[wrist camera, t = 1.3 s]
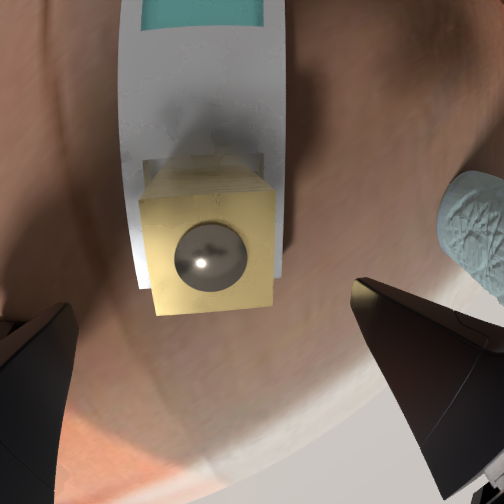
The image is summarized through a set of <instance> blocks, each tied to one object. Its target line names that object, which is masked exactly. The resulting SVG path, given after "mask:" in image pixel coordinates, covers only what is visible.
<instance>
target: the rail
mask: <svg viewBox="0 0 504 504" xmlns="http://www.w3.org/2000/svg"><path fill="white" fill-rule="evenodd" d="M118 119H119V139H120V154H121V166H122V177H123V187H124V195H125V204H126V212H127V219H128V226H129V233H130V239H131V245H132V251H133V257H134V263H135V268H136V274H137V279H138V284H139V289H147V288H151V284H150V278H149V272H148V266H147V260H146V254H145V247H144V241H143V234H142V226H141V218H140V210H139V201H138V200H139V198H140V197H141V195H142V194H143V193H144V191H145V190H146V188H147V187H148V186H149V184H150V183H151V182H152V180H153V179H154V178H155V176H156V175H157V174H158V172H159V171H160V170H165V169H177V168H190V167H205V166H224V165H247V166H248V167H249V168H251V169H252V170H253V171H254V172H255V173H256V174H257V175H259V176H260V177H261V178H262V179H263V180H264V181H265V182H266V183H267V184H269V185H270V186H271V187H272V188H273V189H274V190H275V191H276V211H275V249H274V278H281V271H282V248H283V221H284V188H285V137H286V43H285V0H122V4H121V15H120V29H119V47H118Z"/></svg>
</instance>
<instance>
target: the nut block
mask: <svg viewBox="0 0 504 504" xmlns="http://www.w3.org/2000/svg"><path fill="white" fill-rule="evenodd" d="M138 201H139V210H140V218H141V226H142V234H143V241H144V247H145V254H146V260H147V266H148V272H149V278H150V284H151V289H152V294H153V300H154V305H155V310H156V314H157V316H159V315H175V314H189V313H202V312H214V311H226V310H236V309H247V308H256V307H266V306H273V280H274V249H275V211H276V191H275V190H274V189H273V188H272V187H271V186H270V185H269V184H267V183H266V182H265V181H264V180H263V179H262V178H261V177H260V176H259V175H257V174H256V173H255V172H254V171H253V170H252V169H251V168H249V167H248V166H247V165H224V166H205V167H190V168H177V169H165V170H160V171H159V172H158V174H157V175H156V176H155V178H154V179H153V180H152V182H151V183H150V184H149V186H148V187H147V188H146V190H145V191H144V193H143V194H142V195H141V197H140V198H139V200H138Z"/></svg>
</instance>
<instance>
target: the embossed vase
mask: <svg viewBox="0 0 504 504" xmlns="http://www.w3.org/2000/svg"><path fill="white" fill-rule="evenodd" d="M437 237H438V241H439V244H440V246H441V248H442V249H443V250H444V252H445V253H446V254H447V255H448V256H449V257H451V258H452V259H453V260H454V261H455V262H456V263H457V264H459V265H460V266H461V267H462V268H463V269H464V270H465V271H467V272H468V273H469V274H470V275H471V276H472V278H474V279H475V280H476V281H477V282H478V283H480V284H481V286H482V287H483V288H484V289H485V290H487V291H488V292H489V293H490V294H492V295H493V296H495V297H497V299H498V301H499V303H500V304H502V305H503V306H504V179H501V178H499V177H496V176H494V175H490V174H487V173H483V172H479V171H475V170H472V171H466V172H463V173H461V174H460V175H458V176H457V177H456V178H455V179H454V180H453V181H452V182H451V183H450V185H449V186H448V188H447V190H446V191H445V194H444V196H443V198H442V201H441V203H440V207H439V210H438V216H437Z"/></svg>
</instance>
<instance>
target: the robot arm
mask: <svg viewBox="0 0 504 504" xmlns="http://www.w3.org/2000/svg"><path fill="white" fill-rule="evenodd" d="M350 305H351V308H352V311H353V313H354V315H355V318H356V320H357V322H358V325H359V327H360V330H361V332H362V334H363V337H364V339H365V341H366V343H367V345H368V347H369V349H370V351H371V353H372V355H373V357H374V359H375V360H376V362H377V364H378V366H379V368H380V370H381V372H382V373H383V375H384V377H385V379H386V381H387V383H388V385H389V387H390V389H391V391H392V392H393V394H394V396H395V398H396V400H397V402H398V404H399V406H400V408H401V410H402V412H403V414H404V416H405V418H406V420H407V422H408V424H409V426H410V428H411V430H412V432H413V435H414V437H415V439H416V441H417V443H418V445H419V447H420V449H421V452H422V454H423V456H424V458H425V460H426V462H427V465H428V467H429V469H430V471H431V473H432V476H433V478H434V480H435V482H436V485H437V487H438V489H439V492H440V494H441V496H442V498H443V500H446V499H447V498H449V497H451V496H452V495H454V494H455V493H457V492H458V491H460V490H462V489H463V488H464V487H466V486H467V485H469V484H470V483H472V482H473V481H474V480H476V479H477V478H478V477H480V476H481V475H482V474H485V475H486V477H487V479H488V480H489V482H488V483H487V484H485V485H484V486H483V487H482V488H480V489H479V490H478V491H477V492H475V493H474V494H473V497H472V501H471V504H504V327H501V326H498V325H495V324H491V323H488V322H485V321H482V320H479V319H477V318H474V317H471V316H468V315H466V314H463V313H460V312H458V311H453V310H452V309H450V308H447V307H445V306H442V305H439V304H437V303H434V302H432V301H429V300H426V299H424V298H421V297H418V296H416V295H413V294H411V293H408V292H405V291H403V290H400V289H397V288H395V287H392V286H389V285H387V284H384V283H381V282H378V281H376V280H373V279H370V278H368V277H363V278H357V279H355V281H354V283H353V288H352V294H351V299H350ZM77 337H78V323H77V321H76V318H75V315H74V312H73V309H72V306H71V305H70V304H69V303H67V302H65V303H57V304H55V305H54V306H52V307H51V308H49V309H47V310H46V311H44V312H43V313H41V314H40V315H38V316H37V317H35V318H34V319H32V320H31V321H29V322H1V321H0V504H54V489H55V475H56V465H57V456H58V448H59V441H60V434H61V427H62V421H63V416H64V410H65V405H66V400H67V395H68V390H69V385H70V381H71V376H72V372H73V365H74V358H75V351H76V344H77Z"/></svg>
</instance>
